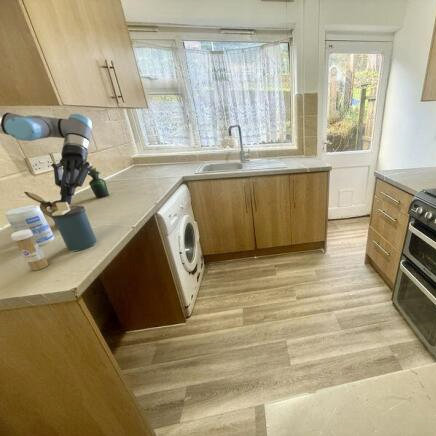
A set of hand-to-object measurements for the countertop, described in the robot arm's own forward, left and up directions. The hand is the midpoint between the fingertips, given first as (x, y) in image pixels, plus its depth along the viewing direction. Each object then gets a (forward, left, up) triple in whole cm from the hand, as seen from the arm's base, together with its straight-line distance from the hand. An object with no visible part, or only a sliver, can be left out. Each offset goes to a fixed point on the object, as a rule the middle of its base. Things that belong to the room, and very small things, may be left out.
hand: (65, 203), depth 89 cm
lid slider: (+3, -2, -3) cm, 4 cm away
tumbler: (0, 0, -18) cm, 18 cm away
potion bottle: (-68, +26, -18) cm, 75 cm away
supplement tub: (-18, -10, -18) cm, 27 cm away
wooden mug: (-34, 0, -18) cm, 39 cm away
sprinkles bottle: (+6, -13, -18) cm, 23 cm away
